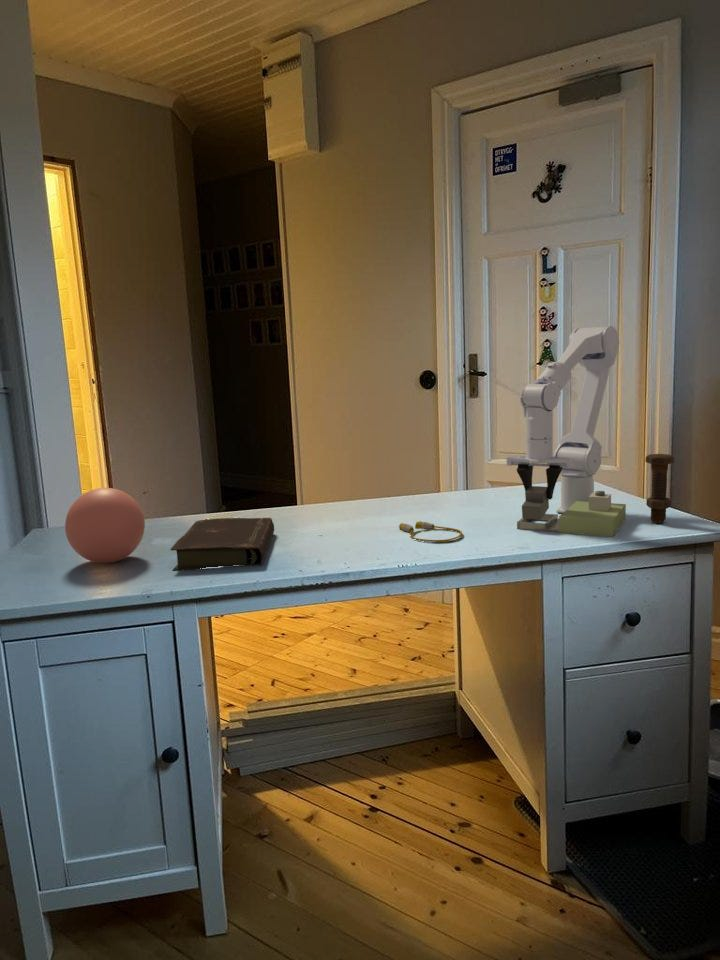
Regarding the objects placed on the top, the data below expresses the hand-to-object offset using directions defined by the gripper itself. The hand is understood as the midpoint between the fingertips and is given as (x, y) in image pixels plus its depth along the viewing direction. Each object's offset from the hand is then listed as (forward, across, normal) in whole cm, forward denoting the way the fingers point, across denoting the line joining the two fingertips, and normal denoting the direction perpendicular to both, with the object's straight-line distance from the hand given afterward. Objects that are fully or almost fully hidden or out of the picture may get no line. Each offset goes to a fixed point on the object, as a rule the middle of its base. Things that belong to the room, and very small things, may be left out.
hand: (539, 498), depth 164 cm
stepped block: (+3, 0, -3) cm, 4 cm away
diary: (+7, -55, -43) cm, 70 cm away
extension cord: (+7, -19, -16) cm, 26 cm away
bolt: (+6, +24, +8) cm, 26 cm away
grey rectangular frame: (+6, +1, -1) cm, 6 cm away
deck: (+6, +12, +2) cm, 13 cm away
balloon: (+6, -75, -56) cm, 94 cm away
